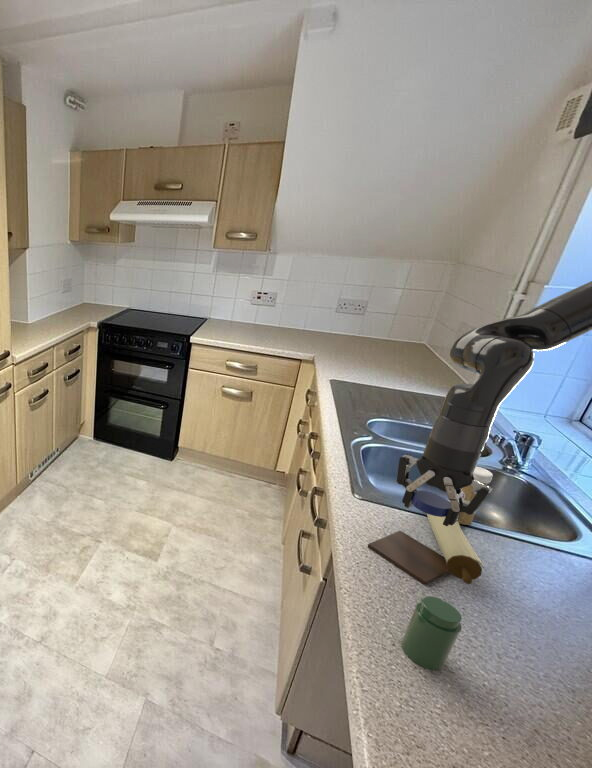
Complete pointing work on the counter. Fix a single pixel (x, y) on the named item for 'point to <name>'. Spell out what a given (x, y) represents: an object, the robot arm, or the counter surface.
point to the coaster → (411, 556)
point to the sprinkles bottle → (481, 477)
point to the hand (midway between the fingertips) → (426, 514)
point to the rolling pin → (456, 549)
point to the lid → (431, 503)
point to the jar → (431, 633)
